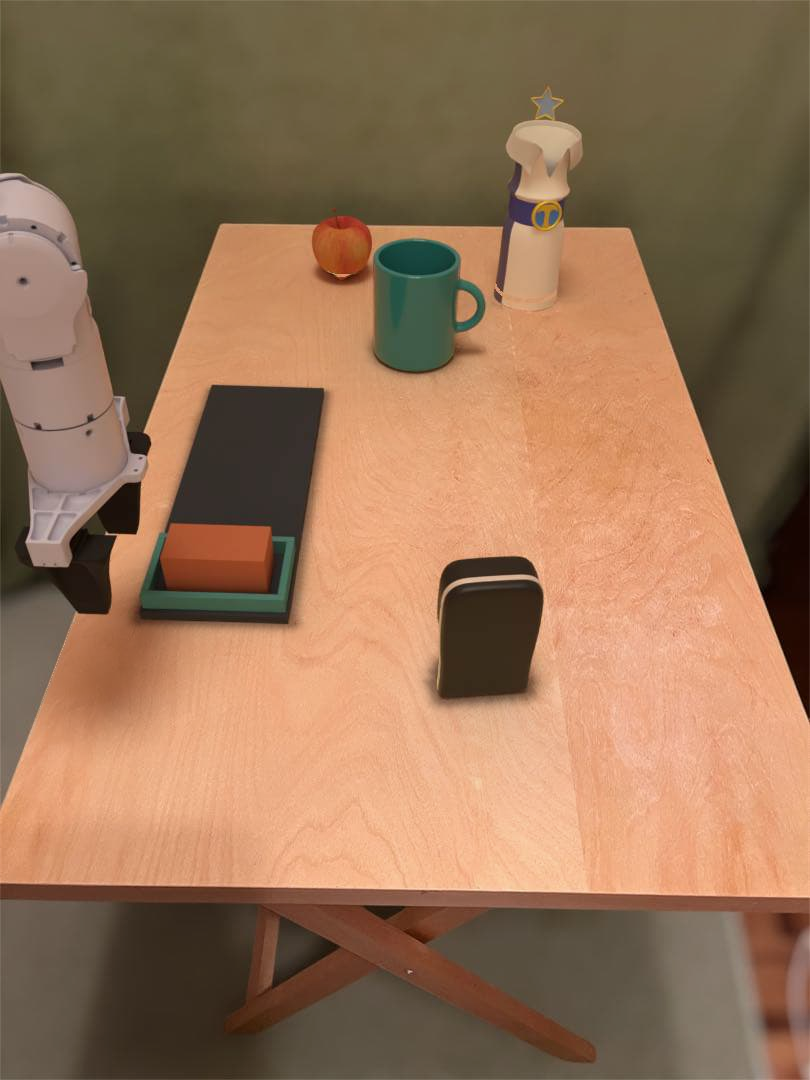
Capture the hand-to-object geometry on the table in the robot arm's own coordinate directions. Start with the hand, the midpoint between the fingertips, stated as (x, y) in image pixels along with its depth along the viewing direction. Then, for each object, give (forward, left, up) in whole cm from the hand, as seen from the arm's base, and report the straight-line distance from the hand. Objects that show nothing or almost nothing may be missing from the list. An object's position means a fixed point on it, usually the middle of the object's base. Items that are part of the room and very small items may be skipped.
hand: (109, 568), depth 62 cm
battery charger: (+25, -7, -10) cm, 28 cm away
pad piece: (+7, +6, -9) cm, 13 cm away
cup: (+32, +38, -10) cm, 51 cm away
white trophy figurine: (+47, +49, -10) cm, 68 cm away
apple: (+26, +58, -10) cm, 64 cm away
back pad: (+10, +18, -9) cm, 23 cm away
